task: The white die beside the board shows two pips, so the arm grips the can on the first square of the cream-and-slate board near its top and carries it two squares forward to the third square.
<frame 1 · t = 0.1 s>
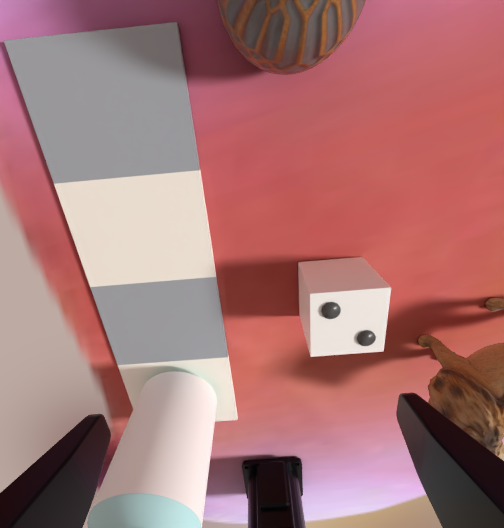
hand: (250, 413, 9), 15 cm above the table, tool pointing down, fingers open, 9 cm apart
board: (154, 279, 23), on the table
vase: (282, 14, 17), on the table
die: (329, 287, 24), on the table
can: (181, 392, 28), resting on board
lion figurine: (463, 333, 26), on the table
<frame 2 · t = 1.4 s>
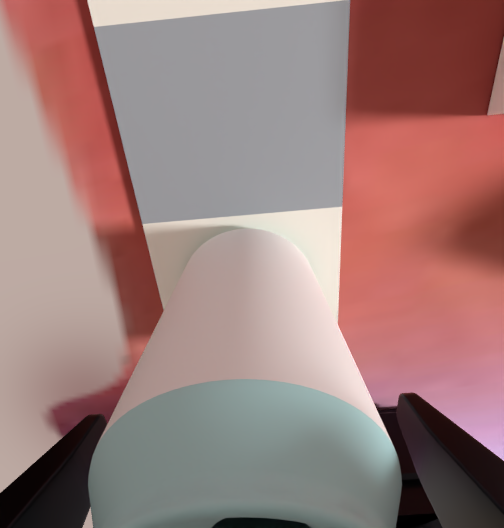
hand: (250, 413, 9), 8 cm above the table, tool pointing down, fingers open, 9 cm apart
board: (221, 17, 12), on the table
can: (248, 284, 16), resting on board
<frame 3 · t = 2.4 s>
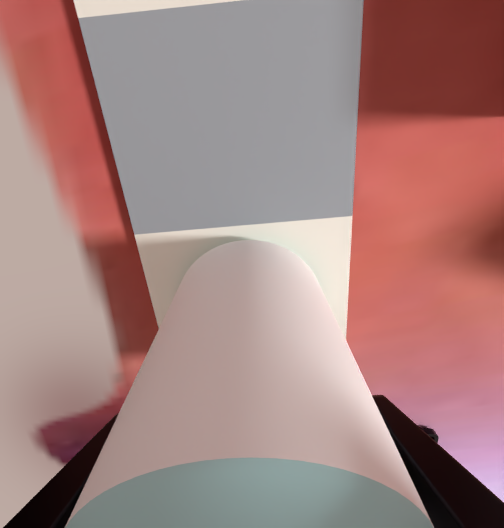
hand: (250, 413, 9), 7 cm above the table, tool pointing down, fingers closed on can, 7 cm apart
board: (220, 7, 10), on the table
can: (249, 298, 15), resting on board, touching gripper
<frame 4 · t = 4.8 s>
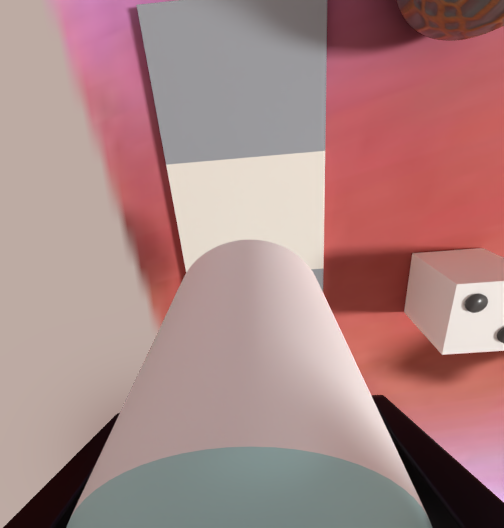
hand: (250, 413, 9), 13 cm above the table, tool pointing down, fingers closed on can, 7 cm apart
board: (254, 271, 22), on the table
die: (441, 281, 22), on the table
can: (249, 297, 15), point 6 cm above the table, touching gripper
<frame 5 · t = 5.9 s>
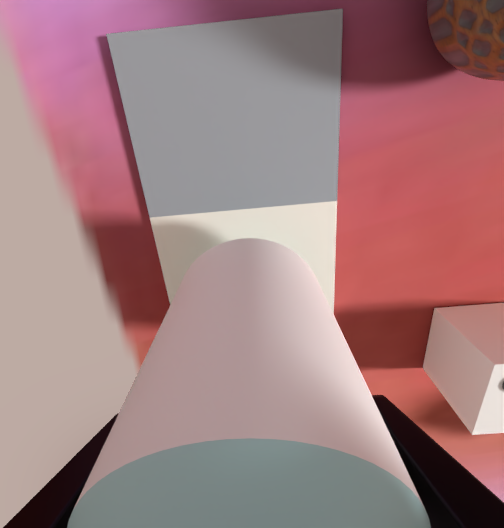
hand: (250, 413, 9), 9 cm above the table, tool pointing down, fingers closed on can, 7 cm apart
board: (254, 328, 19), on the table
die: (466, 336, 19), on the table
can: (249, 296, 15), point 2 cm above the table, touching gripper
when the fingers open (8 cm above the table, at t = 7.1 s): can stays where it is, resting on board.
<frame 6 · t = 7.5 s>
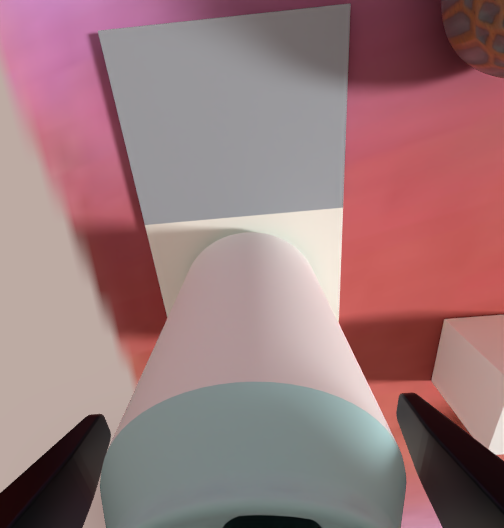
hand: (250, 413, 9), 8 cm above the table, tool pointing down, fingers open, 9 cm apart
board: (255, 340, 18), on the table
die: (477, 348, 19), on the table
can: (250, 287, 16), resting on board
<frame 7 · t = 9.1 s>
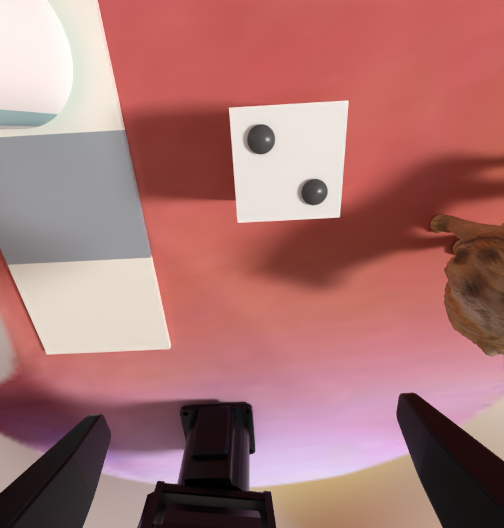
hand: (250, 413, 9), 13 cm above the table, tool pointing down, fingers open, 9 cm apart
board: (41, 134, 17), on the table
die: (278, 157, 18), on the table
can: (13, 55, 15), resting on board
lion figurine: (490, 216, 20), on the table
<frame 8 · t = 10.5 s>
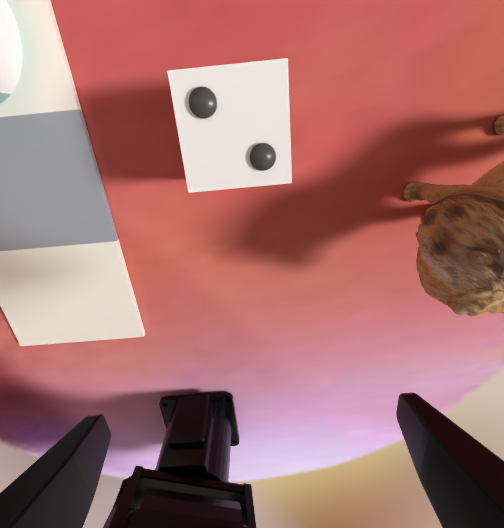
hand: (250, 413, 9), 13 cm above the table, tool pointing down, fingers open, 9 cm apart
die: (238, 132, 18), on the table
lion figurine: (465, 182, 19), on the table
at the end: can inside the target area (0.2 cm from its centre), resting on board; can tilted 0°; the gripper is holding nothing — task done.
